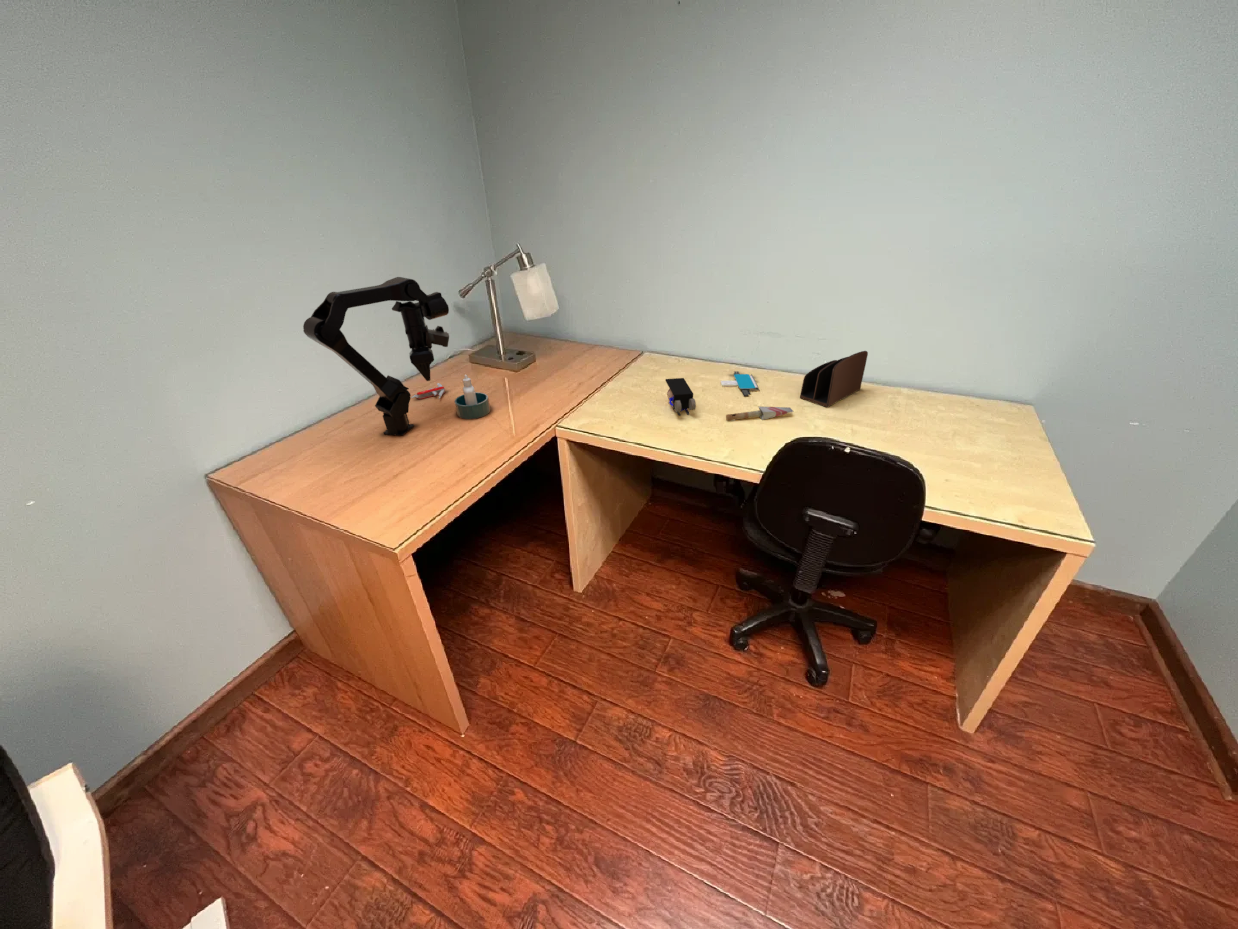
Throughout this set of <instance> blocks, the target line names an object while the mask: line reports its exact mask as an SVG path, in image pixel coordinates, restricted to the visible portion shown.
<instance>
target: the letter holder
mask: <svg viewBox="0 0 1238 929" xmlns="http://www.w3.org/2000/svg"><path fill="white" fill-rule="evenodd" d="M868 354H869V352H868V351H867V350H861V351H858V352H855V353H853V354H851V355H849V356H845V357H841V358H839V359H834V360H830V361H828V362H825V363H823V364H820V365H818V366H817V367H815V368H813V369H812V370H810V371H808V372H807V373H806V374H805V375H804V376H803V380H802V385H801V390H800V394H799V399H801V400H802V399H803V400H804V401H808V402H810V403H813V404H816V405H819V406H822V407H825V408H829V407H831V406H832V405H834V404H837V403H838V402H840V401H841V400H844V399H845V398H847V397H849V396H851V395H853V394H854V393H856V392H858V391H860V390H861V388H862V382H863V379H864V375H865V369H866V365H867V360H868V356H869V355H868Z"/></svg>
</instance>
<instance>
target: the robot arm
mask: <svg viewBox="0 0 1238 929" xmlns="http://www.w3.org/2000/svg"><path fill="white" fill-rule="evenodd" d="M388 301H389V302H390V301H393V302H395V303H394V305H393V306H392V308H391V310H392V311H393V312H398V313H400V315H401V319H402V322H403V326H404V332H405V335H406V338H407V341H408V346H409V349H411V350H410V352H409V353H408V354H409V355H408V356H409V360H410V363H411V365H412V366H414V367H415V369H416V370H417V371H418V372H419V373H420V375H421V376H422V377H423V379H424V380H425V381H426V382H430V381H431V364H432V363H433V362H434V361H435V355H434V352H433V349H432V348H433V345H435V346H436V345H437V346H442V347H444V348H448V346H449V343H450V342H449V341H450V333H448V331H445V330H444V327H443V326H441V325H437V326H436V327H435V328H432V329H429V327H428V324H426V321H425V320H428V321H431V320H434V319H438V318H441V317H445V316H448V314H449V313H450V311H449V310H450V308H449V304H448V303H447V301H446V299H445V298H444V297H443V295H442V292H439V291H435V292H432V293H430V294H429V293H428V294H427V293H426V292H425V291H424V290H422V289H421V286H420V284H419V283H418V282H417V281H416V280H415V279H412V278H407V277H404V276H403V277H402V276H395V277H393V278H391V279H388V280H386V281H384V282H383V283H381V284H378V285H372V286H366V287H361V288H353V289H348V290H341V291H331V292H329V293H328V294H326V296H325V299H324V300H323V302H321V303H320V304H319V306H317V308H316V309H314V311H313V312H312V314H311V316H310V317H308V318H307V319H306V320H305V321H304V322H303V325H302V327H303V328H302V329H303V334H304V335H305V336H306V337H307V338H309V339H311V340H312V341H314V342H315V343H317V344H319V345H321V346H323V347H324V348H326V349H328V350H330V351H331V352H333V353H334V354H335V355H337V356H338V357H339V358H340V359H341V360H342V361H344V362H345V363H346V364H347V365H348V366H349V367H350V368H352V369H353V370H354V371H355V372H356V373H358V374H359V375H360V376H361V377H363V379H365V380H366V381H367V382H368V383H369V384H370V385H371V386H372V387H373V389H374V390H375V393H376V394H377V395H378V399H377V401H376V403H375V405H374V407H375V408H376V410H377V411H378V412H381V413H382V419H383V422H384V425H385V429H386V430H385V431H383V435H387V436H397V437H398V436H400V437H402V436H403V437H404V436H405V435H406V434H407V433H408V432H409V431H411V429H414V427H415V424H414V423H410V420H409V417H408V413H409V409H410V401H411V397H412V396H411V392H410V391H409V390H410V388H409V387H407V386H405V385H404V384H403V382H402V381H401V380H400V379H398V378H396V377H394V376H391V375H387V376H385V375H384V374H383V373H382V372H381V371H380V370H379V369H377V368H376V367H375V366H374V365H373V364H372V363H371V362H369V361H368V360H367V359H366V358H365V357H364V356H363V355H362V354H361V353H359V351H357V350H356V349H355V347H353V346H352V345H351V344H350V343H349V342H348V340H347V338H346V336H345V334H344V333H343V332H342V330H341V328H342V326H343V325H344V323H345V319H346V318H345V317H346V315H347V314H346V313H347V311H348V310H349V309H351V308H356V307H363V306H369V305H371V304H372V305H373V304H378V303H382V302H388Z"/></svg>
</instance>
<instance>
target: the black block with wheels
mask: <svg viewBox="0 0 1238 929" xmlns="http://www.w3.org/2000/svg"><path fill="white" fill-rule="evenodd" d="M665 383H666V384H667V386H668V388H669V389H668V390H667V393H666V395H667V398H668V400H669V401H668V404H669V405H670V406H671V407H672V410H674V412H675V413H677V415H678V416H679V417H680V416H681V413H680V412H682V411H683V412H684V411H685V413H686V415H687V416H689V415H690V411H695V410H696V409H697V408H696V407H697V402H696V399H695V398H694V392H693V391H692V389H691V387H690V386H689V384H688V383H687V381H686V379H685V378H684V377H676V378H665Z"/></svg>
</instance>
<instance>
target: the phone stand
mask: <svg viewBox="0 0 1238 929" xmlns="http://www.w3.org/2000/svg"><path fill="white" fill-rule="evenodd" d="M733 377H734V380H720V382H719V383H720V386H721V387H722V388H724V387H737V388H738V389H740V391H741V394H742V396H743V397H744V398H745V397H749V395H752V393H751V392H760V391H761V390H760V387H759V384H758V382H757V381H756V378H755V377H754V376H753V374H752V373H751V374H748V373H740V372H739V371H738V370H736V371H735V370H734V371H733Z"/></svg>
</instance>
